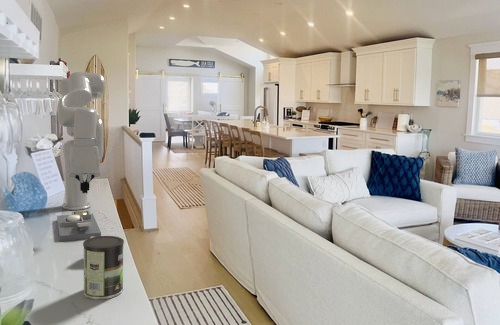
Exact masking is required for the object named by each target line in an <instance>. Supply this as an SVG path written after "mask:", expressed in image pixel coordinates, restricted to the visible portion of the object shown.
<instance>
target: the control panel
mask: <svg viewBox="0 0 500 325" xmlns="http://www.w3.org/2000/svg"><path fill="white" fill-rule="evenodd" d="M80 211H81V210H73V211H71V215H75V213H76V212H80ZM83 211H84V212H87V215H80V221H74V222H69V221H67V216H69V215H70V214H65V215H63V214H62V215H56V221H57V222H56V223H57V228H58V235H59V236H58V237H59V242H66V241H67V242H68V241H77V240H78V241H79V240H80V239H81V240H87V239H89V238H90V237H91V236H93V237H98V236H102V232H101V229H100V227H99V225H98V222H97V221H96V220H97V219H96V217H95V214H93V213H91V212H90V210H83ZM87 222H89V223H91V226H83V227H78V226H77V223H87Z"/></svg>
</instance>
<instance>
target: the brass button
mask: <svg viewBox="0 0 500 325" xmlns="http://www.w3.org/2000/svg"><path fill="white" fill-rule="evenodd" d="M79 211H80V212H76V213H75V215H87V212H84V211H85V210H79Z"/></svg>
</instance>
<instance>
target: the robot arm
mask: <svg viewBox="0 0 500 325" xmlns="http://www.w3.org/2000/svg"><path fill="white" fill-rule="evenodd" d="M59 88H60V89H59V90H60V92H61V98H60V99H59V101H58V103H57V121H58V123H59V125H60V126H62V127H65V129H66V132H67V133H66V134H67V135H68V137H72V138H73V139H71V140H68V141H67V140H66V141H65V142H64V143H63V146H62V150H63V151H62V153H63V158H64V168H65V170H64V171H65V173H64V177H65V179H64V182H65V183H64V184H65V187H64V189H65V191H64V192H65V196H64V197H65V198H64V199H65V202H64V203H62V204H61V208H62V209H63V210H68V211H70V210H71V211H82V210H85V209H89V208H91V206H92V204H91V202H88V194H89V192H88V191H90V182H92V180H94V178H98V177H101V167H100V166H101V163H100V160H102V159H103V158H104V151H105V150H104V143H105V141H104V140H105V139H104V135H105V134H104V130H105V129H104V123H103V120H102V119H101V118H100V113H99V112H98V110H97V109H96V108H94V107H87V106H88V105H89V104H90V103H91V102H92V100H93V99H95V100H97V99H98V100H99V99H101V98H102V96H103V95H104V93H105V90H106V81H105V77H104V76H103V75H102V74H101V73H98V72H85V71H74V72H72V73H71V74H69V76H68V77H66V78H62V79H61V80H60V82H59Z"/></svg>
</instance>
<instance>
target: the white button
mask: <svg viewBox="0 0 500 325" xmlns="http://www.w3.org/2000/svg"><path fill="white" fill-rule="evenodd" d="M68 215H69V216H67V221H69V222H74V221H80V215H72V214H68Z"/></svg>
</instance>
